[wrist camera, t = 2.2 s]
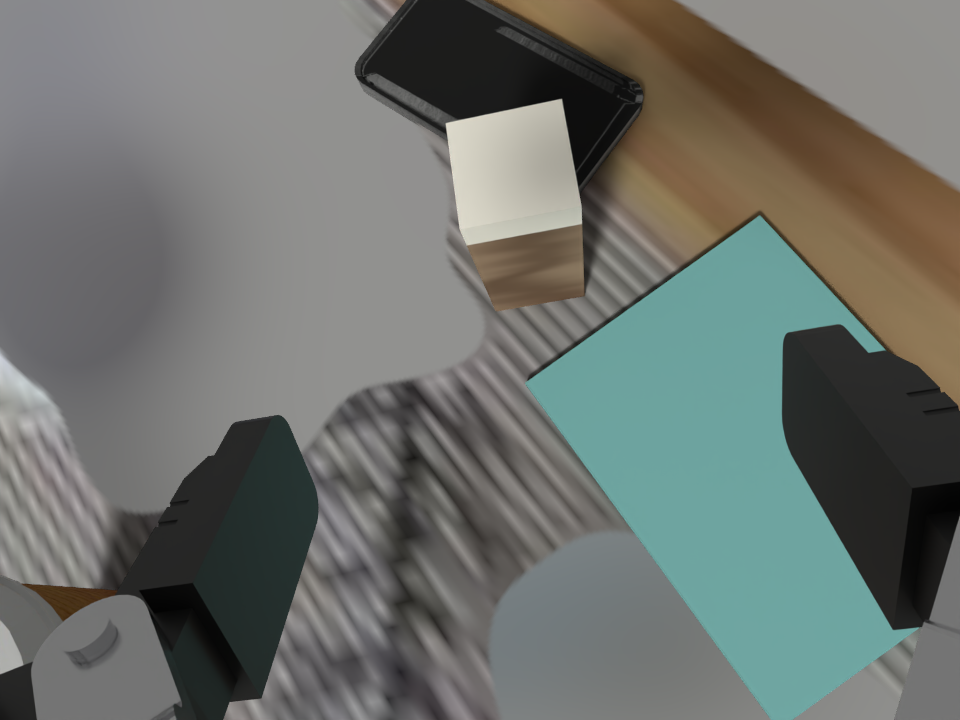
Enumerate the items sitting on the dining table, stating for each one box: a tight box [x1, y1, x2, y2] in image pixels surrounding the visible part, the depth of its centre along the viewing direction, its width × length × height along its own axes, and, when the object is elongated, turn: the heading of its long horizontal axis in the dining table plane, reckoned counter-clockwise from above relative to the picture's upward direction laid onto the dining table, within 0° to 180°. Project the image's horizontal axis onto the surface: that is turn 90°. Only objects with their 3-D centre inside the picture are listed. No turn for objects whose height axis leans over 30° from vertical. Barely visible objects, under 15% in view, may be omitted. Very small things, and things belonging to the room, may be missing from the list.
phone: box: [355, 0, 643, 194], centre depth 38 cm, size 8×1×15 cm
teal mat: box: [525, 216, 920, 720], centre depth 31 cm, size 18×14×1 cm
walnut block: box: [446, 99, 584, 311], centre depth 31 cm, size 4×4×10 cm
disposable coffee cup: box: [0, 575, 118, 674], centre depth 28 cm, size 10×10×12 cm
